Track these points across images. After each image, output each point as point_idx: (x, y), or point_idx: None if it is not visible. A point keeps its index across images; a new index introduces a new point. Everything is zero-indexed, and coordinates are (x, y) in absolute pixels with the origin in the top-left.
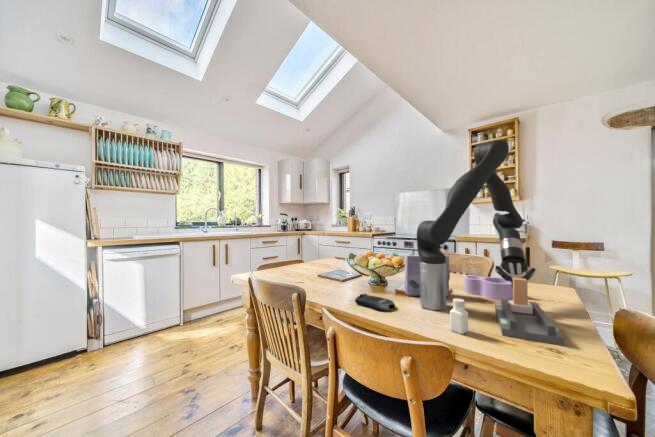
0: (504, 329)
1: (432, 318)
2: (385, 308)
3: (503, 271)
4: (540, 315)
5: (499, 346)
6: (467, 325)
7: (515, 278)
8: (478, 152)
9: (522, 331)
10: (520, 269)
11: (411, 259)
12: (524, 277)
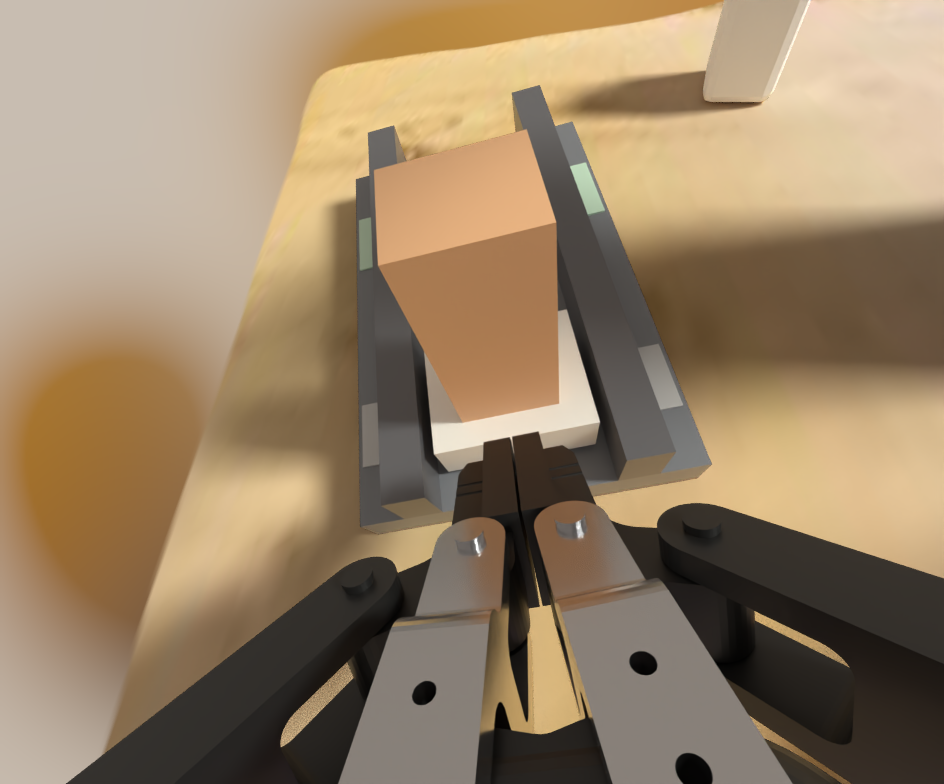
0: (563, 126)
1: (940, 113)
2: None
3: (905, 629)
4: None
5: (565, 81)
6: (710, 62)
7: (513, 195)
8: None
9: None
10: (362, 766)
11: None
12: (372, 565)
